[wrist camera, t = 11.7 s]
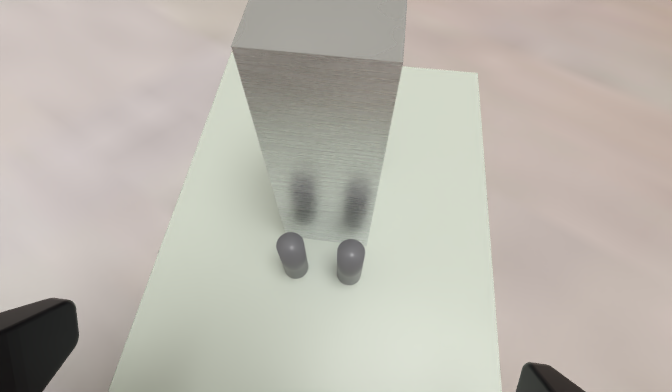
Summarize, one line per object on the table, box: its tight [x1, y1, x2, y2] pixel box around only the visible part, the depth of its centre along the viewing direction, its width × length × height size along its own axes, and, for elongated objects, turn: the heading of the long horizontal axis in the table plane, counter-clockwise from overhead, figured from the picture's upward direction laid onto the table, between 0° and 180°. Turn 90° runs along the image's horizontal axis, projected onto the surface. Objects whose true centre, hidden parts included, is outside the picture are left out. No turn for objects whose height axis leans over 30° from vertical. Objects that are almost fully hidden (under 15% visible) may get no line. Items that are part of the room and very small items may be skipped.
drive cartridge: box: [231, 0, 407, 246], centre depth 13 cm, size 4×4×10 cm
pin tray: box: [108, 51, 502, 392], centre depth 17 cm, size 14×18×4 cm
